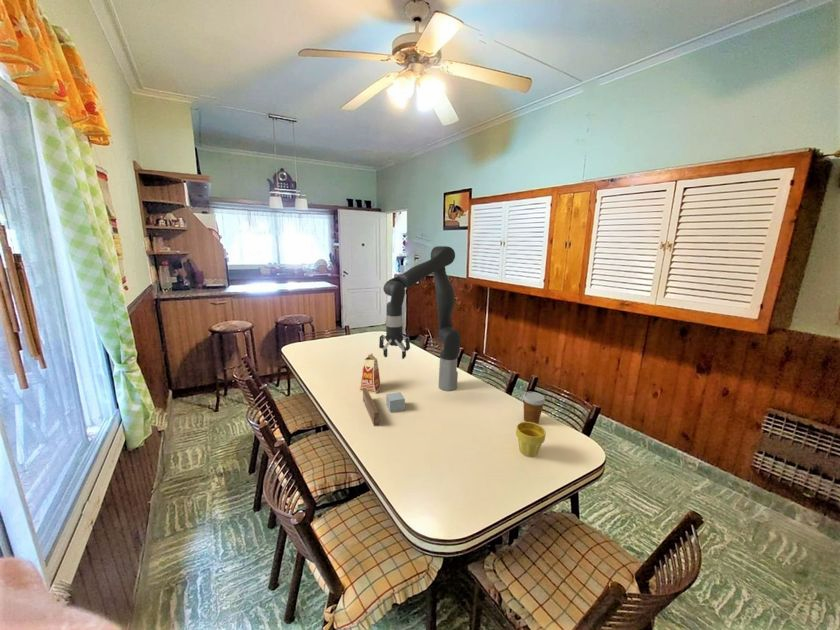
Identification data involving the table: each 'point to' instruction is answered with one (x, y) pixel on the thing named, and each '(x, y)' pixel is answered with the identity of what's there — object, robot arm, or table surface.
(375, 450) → the table surface
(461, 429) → the table surface
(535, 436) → the plant pot
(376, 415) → the board
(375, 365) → the milk carton
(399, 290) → the robot arm
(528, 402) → the disposable coffee cup
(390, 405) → the block
